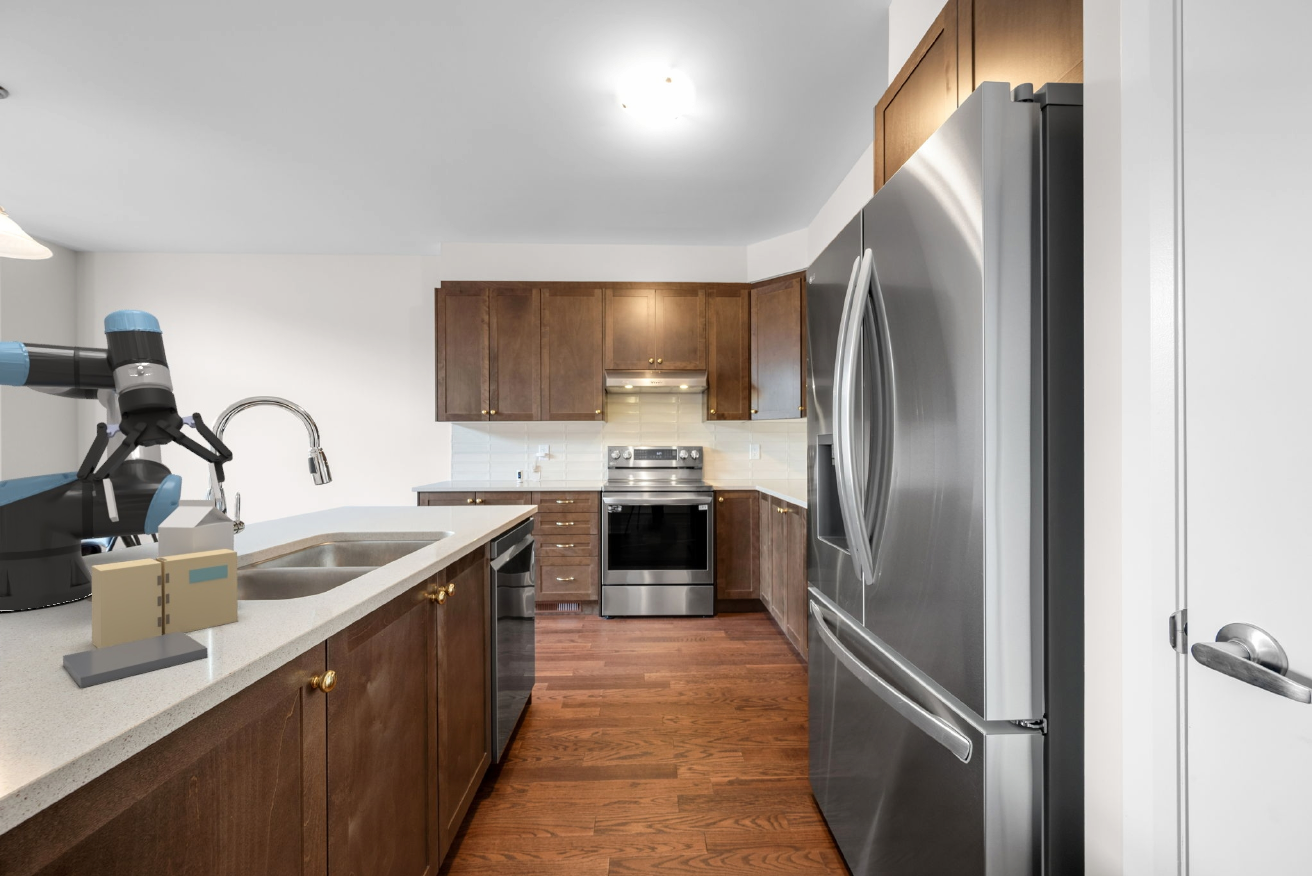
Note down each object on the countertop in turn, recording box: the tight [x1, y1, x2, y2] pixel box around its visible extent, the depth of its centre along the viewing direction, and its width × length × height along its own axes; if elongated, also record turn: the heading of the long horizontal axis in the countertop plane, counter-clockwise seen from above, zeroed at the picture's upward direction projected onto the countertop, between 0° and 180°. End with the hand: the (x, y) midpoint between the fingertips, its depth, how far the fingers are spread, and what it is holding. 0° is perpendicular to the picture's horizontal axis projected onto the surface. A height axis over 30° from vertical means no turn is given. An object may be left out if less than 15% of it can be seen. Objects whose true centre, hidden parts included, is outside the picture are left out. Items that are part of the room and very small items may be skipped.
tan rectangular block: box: [91, 558, 162, 649], centre depth 84 cm, size 6×6×11 cm
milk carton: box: [157, 499, 235, 558], centre depth 97 cm, size 7×7×19 cm
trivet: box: [62, 631, 208, 689], centre depth 76 cm, size 12×12×1 cm
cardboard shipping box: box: [155, 549, 239, 635], centre depth 91 cm, size 5×9×11 cm, turn 142°
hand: (168, 509), depth 98 cm, fingers open, 13 cm apart
